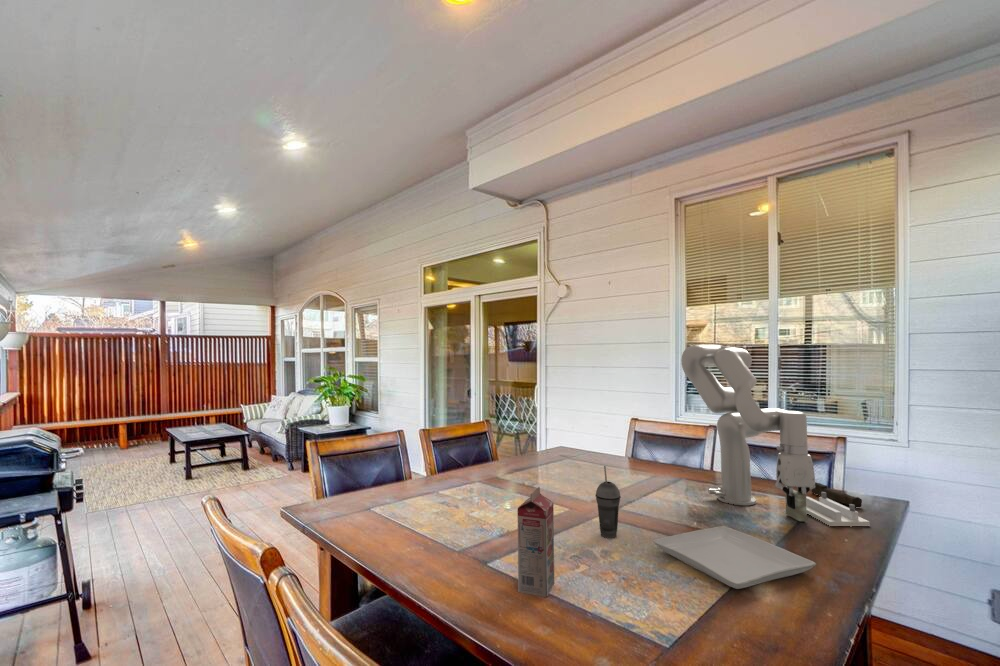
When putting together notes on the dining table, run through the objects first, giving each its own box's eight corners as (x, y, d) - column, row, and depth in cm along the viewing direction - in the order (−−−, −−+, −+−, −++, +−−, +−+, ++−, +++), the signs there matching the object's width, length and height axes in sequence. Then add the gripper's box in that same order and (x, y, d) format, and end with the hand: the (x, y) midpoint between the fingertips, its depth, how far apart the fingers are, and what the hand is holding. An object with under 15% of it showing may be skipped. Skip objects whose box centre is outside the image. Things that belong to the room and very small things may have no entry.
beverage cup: (607, 542, 135) (605, 471, 135) (590, 533, 141) (589, 465, 142) (626, 537, 138) (625, 468, 139) (610, 529, 144) (608, 463, 145)
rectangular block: (799, 521, 149) (798, 495, 149) (786, 513, 156) (785, 489, 156) (806, 521, 149) (805, 495, 149) (793, 513, 156) (792, 489, 156)
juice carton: (518, 592, 107) (517, 493, 108) (527, 578, 113) (526, 485, 114) (546, 597, 105) (545, 495, 106) (554, 583, 111) (553, 487, 112)
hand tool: (863, 509, 162) (862, 495, 162) (853, 509, 161) (852, 495, 162) (818, 493, 181) (818, 480, 181) (809, 493, 180) (808, 481, 180)
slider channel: (830, 526, 145) (829, 507, 146) (794, 507, 163) (794, 490, 164) (869, 526, 145) (868, 507, 145) (829, 507, 163) (829, 490, 163)
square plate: (738, 601, 103) (737, 582, 103) (650, 553, 128) (650, 538, 128) (818, 576, 114) (818, 560, 114) (723, 537, 139) (723, 523, 139)
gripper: (775, 452, 150) (777, 511, 149) (826, 452, 150) (828, 511, 149) (762, 447, 157) (764, 504, 157) (811, 447, 157) (813, 503, 156)
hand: (795, 507), depth 153 cm, fingers closed on rectangular block, 2 cm apart
